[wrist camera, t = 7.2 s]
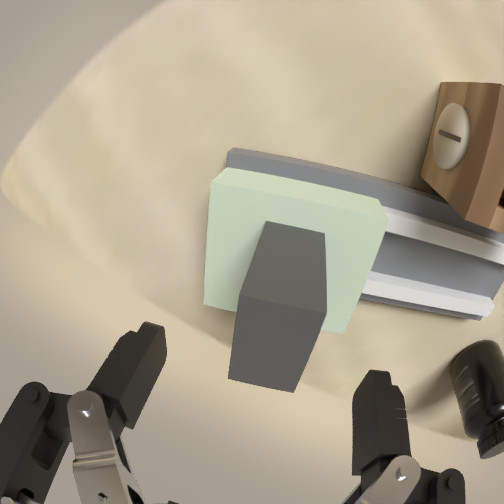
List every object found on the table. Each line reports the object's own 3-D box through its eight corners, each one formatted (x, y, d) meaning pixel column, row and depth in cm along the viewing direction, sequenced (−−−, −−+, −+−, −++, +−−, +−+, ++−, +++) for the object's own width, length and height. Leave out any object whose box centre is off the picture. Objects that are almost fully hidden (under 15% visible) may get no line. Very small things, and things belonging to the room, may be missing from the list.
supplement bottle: (460, 384, 27) (478, 467, 17) (439, 363, 26) (460, 460, 16) (505, 353, 24) (534, 435, 14) (490, 327, 23) (527, 422, 13)
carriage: (378, 199, 16) (423, 294, 9) (341, 304, 20) (344, 416, 13) (226, 167, 17) (154, 237, 10) (216, 277, 21) (167, 378, 14)
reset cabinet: (522, 125, 14) (585, 149, 7) (499, 206, 17) (551, 254, 11) (434, 79, 14) (492, 78, 8) (412, 173, 18) (456, 216, 12)
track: (517, 226, 17) (532, 241, 15) (474, 310, 22) (484, 329, 20) (233, 147, 20) (222, 155, 17) (222, 258, 24) (212, 277, 22)
